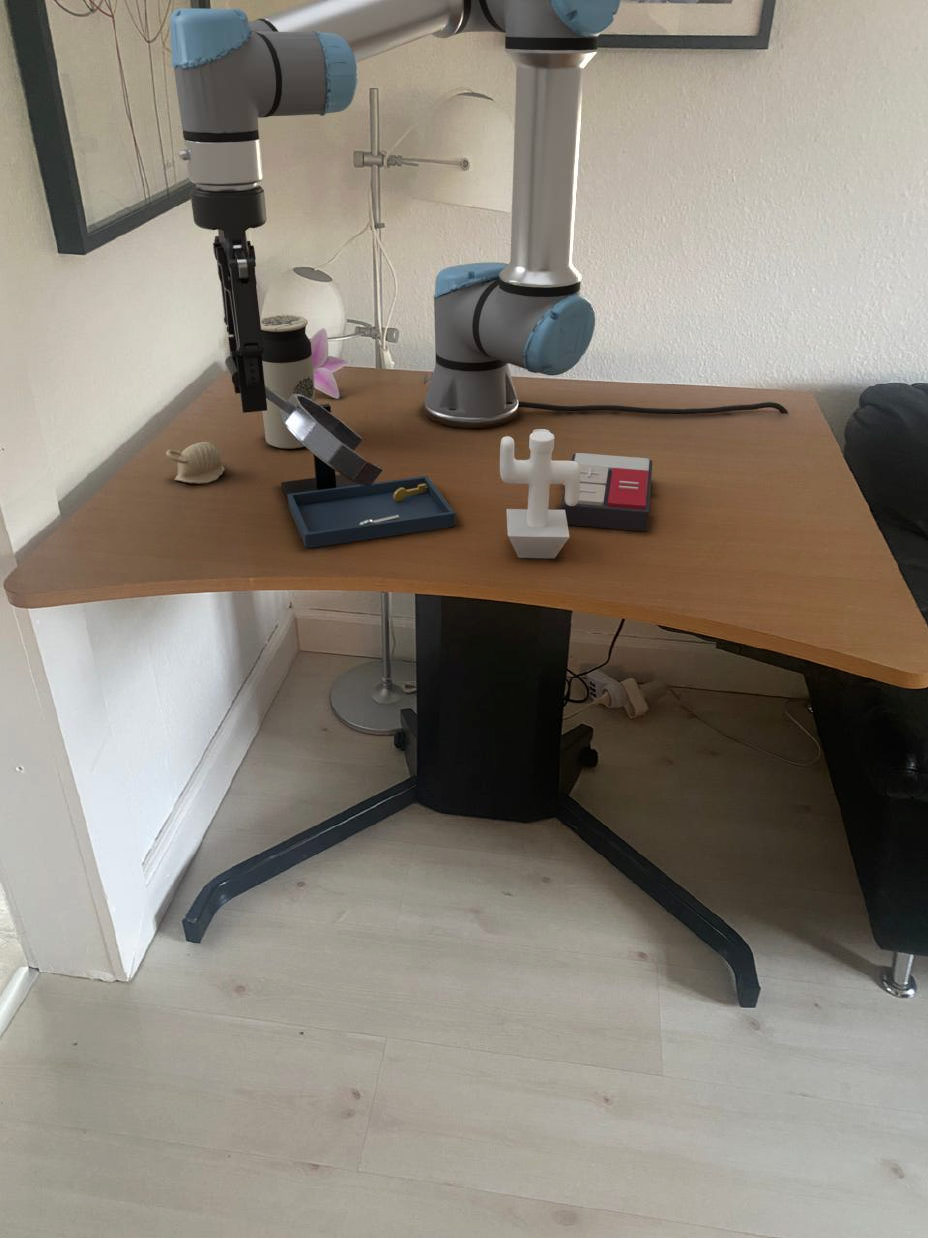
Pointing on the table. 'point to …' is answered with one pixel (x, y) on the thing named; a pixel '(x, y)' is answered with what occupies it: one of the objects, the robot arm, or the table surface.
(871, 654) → the table surface
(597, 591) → the table surface
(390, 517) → the nickel key
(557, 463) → the figurine
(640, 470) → the calculator
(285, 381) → the travel mug
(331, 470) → the stand
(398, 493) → the brass key
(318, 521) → the tray
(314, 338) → the lily
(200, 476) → the decorative ornament
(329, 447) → the grey frying pan
